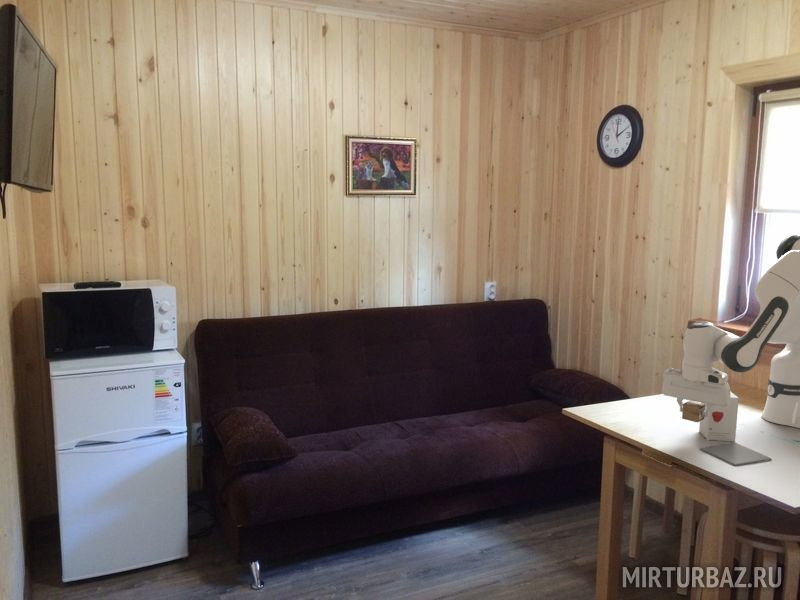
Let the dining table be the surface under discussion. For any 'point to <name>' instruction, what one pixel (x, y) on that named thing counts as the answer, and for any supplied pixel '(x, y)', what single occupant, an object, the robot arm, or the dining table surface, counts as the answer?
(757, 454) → the coaster
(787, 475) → the dining table surface
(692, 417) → the letter cube
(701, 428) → the supplement box
